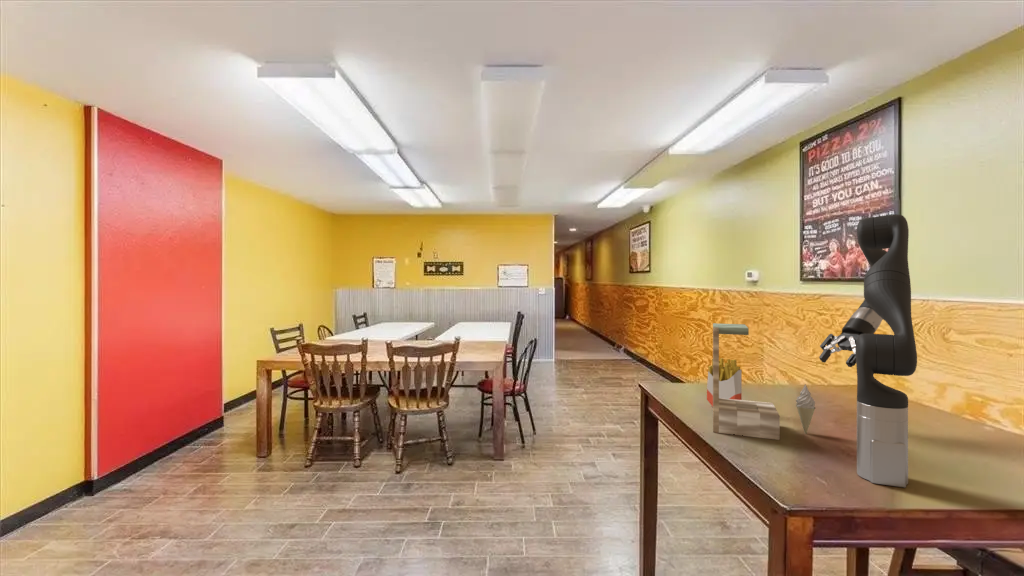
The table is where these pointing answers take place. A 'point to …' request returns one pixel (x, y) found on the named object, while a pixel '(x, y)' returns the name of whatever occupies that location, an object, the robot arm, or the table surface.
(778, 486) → the table surface
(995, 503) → the table surface
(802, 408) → the ice cream cone
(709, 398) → the french fries container
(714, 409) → the cone stand
